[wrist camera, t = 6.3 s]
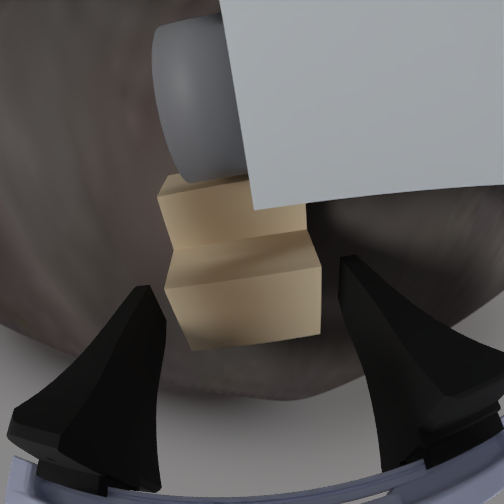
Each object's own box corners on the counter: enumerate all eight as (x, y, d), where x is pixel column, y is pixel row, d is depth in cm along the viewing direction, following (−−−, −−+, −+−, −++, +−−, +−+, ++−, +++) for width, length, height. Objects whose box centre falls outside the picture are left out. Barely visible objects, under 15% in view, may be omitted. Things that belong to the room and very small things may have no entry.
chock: (291, 153, 10) (320, 202, 7) (300, 263, 13) (320, 333, 10) (168, 174, 11) (140, 230, 7) (199, 278, 13) (192, 351, 10)
